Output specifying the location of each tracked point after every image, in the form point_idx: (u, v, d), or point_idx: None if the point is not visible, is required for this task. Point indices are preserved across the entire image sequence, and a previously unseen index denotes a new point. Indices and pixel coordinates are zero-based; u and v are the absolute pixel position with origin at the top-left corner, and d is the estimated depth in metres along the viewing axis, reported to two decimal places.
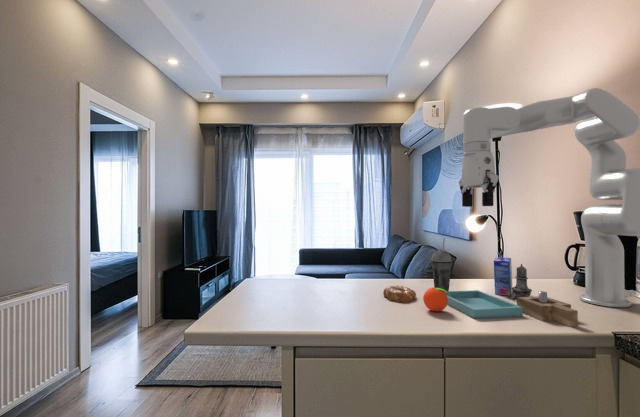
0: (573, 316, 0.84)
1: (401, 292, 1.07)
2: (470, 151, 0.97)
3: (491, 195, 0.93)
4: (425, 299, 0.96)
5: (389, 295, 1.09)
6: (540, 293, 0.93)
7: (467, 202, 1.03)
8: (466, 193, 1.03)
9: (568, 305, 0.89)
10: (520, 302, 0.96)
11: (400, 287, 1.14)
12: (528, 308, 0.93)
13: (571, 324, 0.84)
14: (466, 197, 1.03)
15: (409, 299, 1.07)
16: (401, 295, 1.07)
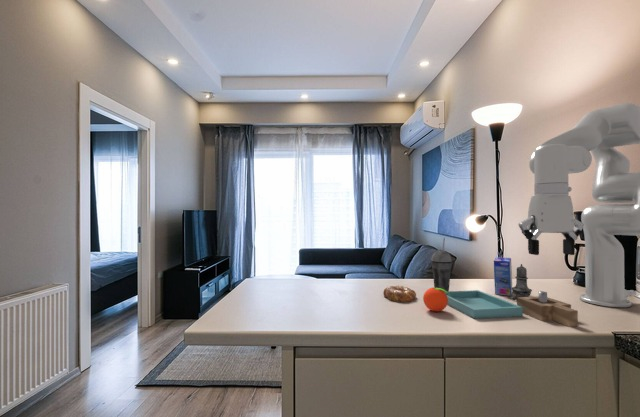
0: (573, 316, 0.84)
1: (401, 292, 1.07)
2: (567, 193, 0.85)
3: None
4: (425, 299, 0.96)
5: (389, 295, 1.09)
6: (540, 293, 0.93)
7: None
8: None
9: (568, 305, 0.89)
10: (520, 302, 0.96)
11: (400, 287, 1.14)
12: (528, 308, 0.93)
13: (571, 324, 0.84)
14: None
15: (409, 299, 1.07)
16: (401, 295, 1.07)
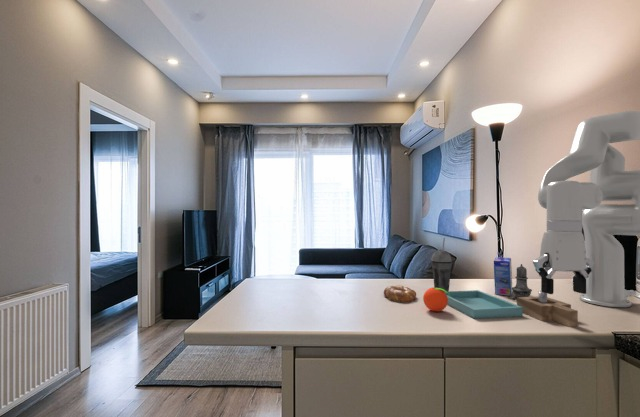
0: (573, 316, 0.84)
1: (401, 292, 1.07)
2: (581, 231, 0.83)
3: None
4: (425, 299, 0.96)
5: (389, 295, 1.09)
6: (540, 293, 0.93)
7: None
8: None
9: (568, 305, 0.89)
10: (520, 302, 0.96)
11: (400, 287, 1.14)
12: (528, 308, 0.93)
13: (571, 324, 0.84)
14: None
15: (409, 299, 1.07)
16: (401, 295, 1.07)
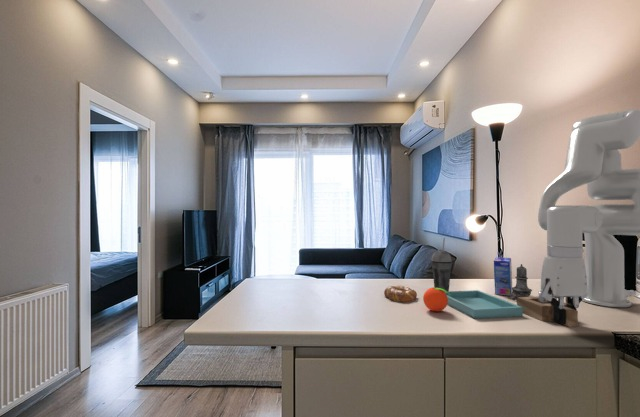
0: (573, 316, 0.84)
1: (402, 292, 1.07)
2: (581, 257, 0.83)
3: None
4: (425, 299, 0.96)
5: (390, 295, 1.09)
6: (540, 293, 0.93)
7: None
8: None
9: None
10: (520, 302, 0.96)
11: (401, 287, 1.14)
12: (528, 308, 0.93)
13: (571, 324, 0.84)
14: None
15: (410, 299, 1.07)
16: (402, 295, 1.07)
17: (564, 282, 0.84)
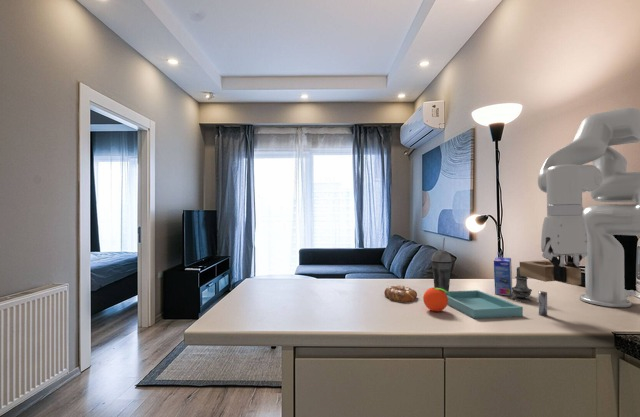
0: (576, 274, 0.84)
1: (402, 292, 1.07)
2: (581, 214, 0.84)
3: None
4: (425, 299, 0.96)
5: (390, 295, 1.09)
6: (540, 293, 0.93)
7: None
8: None
9: None
10: (523, 266, 0.95)
11: (401, 287, 1.14)
12: (531, 270, 0.92)
13: (574, 282, 0.83)
14: None
15: (410, 299, 1.07)
16: (402, 295, 1.07)
17: (564, 240, 0.84)
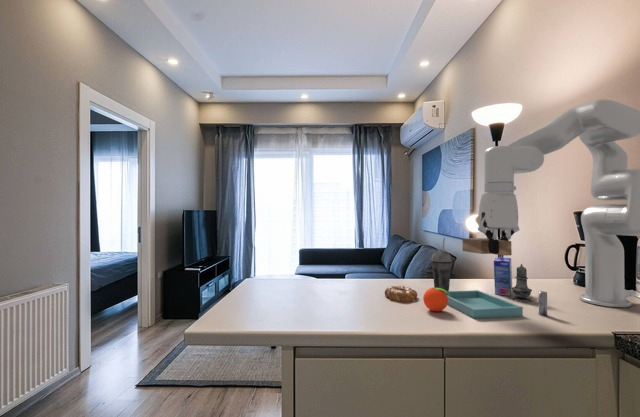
0: (507, 246, 0.91)
1: (402, 292, 1.07)
2: (512, 192, 0.92)
3: None
4: (425, 299, 0.96)
5: (390, 295, 1.09)
6: (540, 293, 0.93)
7: None
8: None
9: None
10: (465, 242, 1.03)
11: (401, 287, 1.14)
12: (471, 245, 1.00)
13: (505, 253, 0.91)
14: None
15: (410, 299, 1.07)
16: (402, 295, 1.07)
17: (497, 214, 0.92)
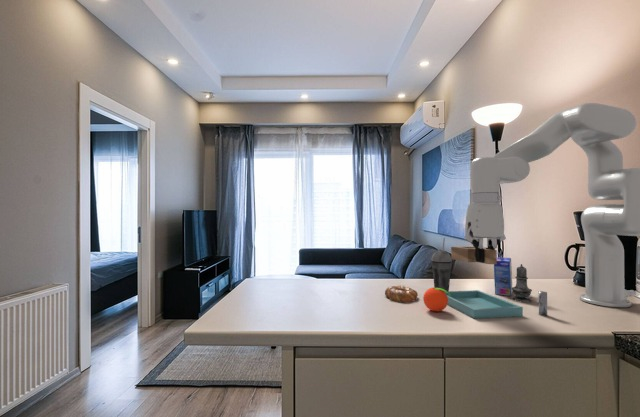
0: (492, 255, 0.93)
1: (403, 292, 1.07)
2: (498, 202, 0.94)
3: None
4: (425, 299, 0.96)
5: (391, 295, 1.09)
6: (540, 293, 0.93)
7: None
8: None
9: None
10: (453, 250, 1.05)
11: (402, 287, 1.14)
12: (459, 253, 1.02)
13: (490, 262, 0.93)
14: None
15: (411, 299, 1.07)
16: (402, 295, 1.07)
17: (482, 224, 0.94)
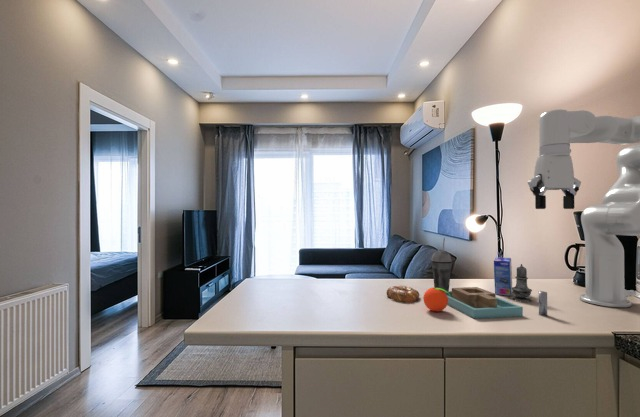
0: (493, 303, 0.93)
1: (404, 292, 1.07)
2: (569, 153, 0.96)
3: None
4: (425, 299, 0.96)
5: (392, 295, 1.09)
6: (540, 293, 0.93)
7: None
8: None
9: (493, 294, 0.99)
10: (454, 292, 1.05)
11: (403, 287, 1.14)
12: (459, 297, 1.02)
13: None
14: None
15: (412, 299, 1.06)
16: (404, 295, 1.07)
17: (554, 175, 0.96)
